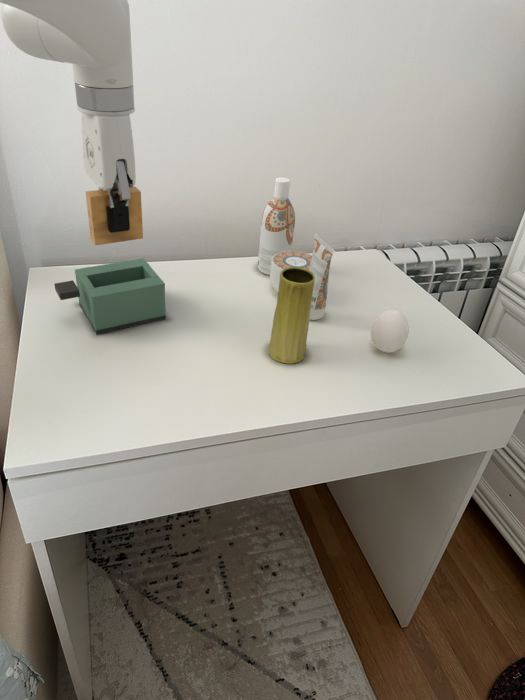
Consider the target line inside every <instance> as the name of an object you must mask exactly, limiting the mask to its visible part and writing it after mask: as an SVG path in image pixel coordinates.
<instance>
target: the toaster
mask: <svg viewBox="0 0 525 700" xmlns="http://www.w3.org/2000/svg"><path fill="white" fill-rule="evenodd" d="M74 274H75V281H76V282H75V284H76V286H77V288H78V289H79V293H80V297H77V298H78V305H79V307H80V309H81V310H82V312H83V314H84V316H85V317H86V319H87V321H88V323H89V324H90V326H91V328H92V330H93V331H94V333H95V335H100V334H106V333H110V332H114V331H120V330H123V329H127V328H133V327H137V326H141V325H146V324H151V323H154V322H155V323H156V322H160V321H163V320H166V319H167V315H166V314H167V313H166V283H165V282H164V281H163V279H162V278H161V277H160V276H159V275H158V273H156V271H155V270H154V269H153V268H152V266H151V265H150V264H149V262H148V261H146V260H145V258H143V257H142V258H136V259H130V260H125V261H119V262H111V263H105V264H99V265H93V266H88V267H87V266H86V267H82V268H76V269H74Z"/></svg>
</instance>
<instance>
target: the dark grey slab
mask: <svg viewBox="0 0 525 700" xmlns="http://www.w3.org/2000/svg"><path fill="white" fill-rule="evenodd" d="M53 285H54V290H55V292H56V294H57V296H58V298H59V300H60V301H64V300H69V299H75V298H78V297H80V293H79V289H78V288H77V283H76V282H75V281H74V280H67V281H62V282H61V281H60V282H55V283H53Z"/></svg>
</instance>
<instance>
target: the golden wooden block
mask: <svg viewBox="0 0 525 700" xmlns="http://www.w3.org/2000/svg"><path fill="white" fill-rule="evenodd" d="M129 190H130V195H131V199H130V200H129V206H128V207H129V222H130V229H129V230H128V231H121V232H114V233H110V232H109V230H108V222H107V210H106V206H109V205H108V197H107V191H104V190H99V189H98V190H87V191H85V199H86V209H87V219H88V226H89V235H90V240H91V242H92V243H93V245H94V246H101V245H102V246H103V245H108V244H114V243H121V242H128V241H134V240H143V239H144V230H143V228H144V227H143V211H142V191H141V190H140V189H138V187H137V186H136V185H134V186H133V187H132V188H130V187H129ZM115 193H118V191H113V196H114V194H115Z"/></svg>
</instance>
